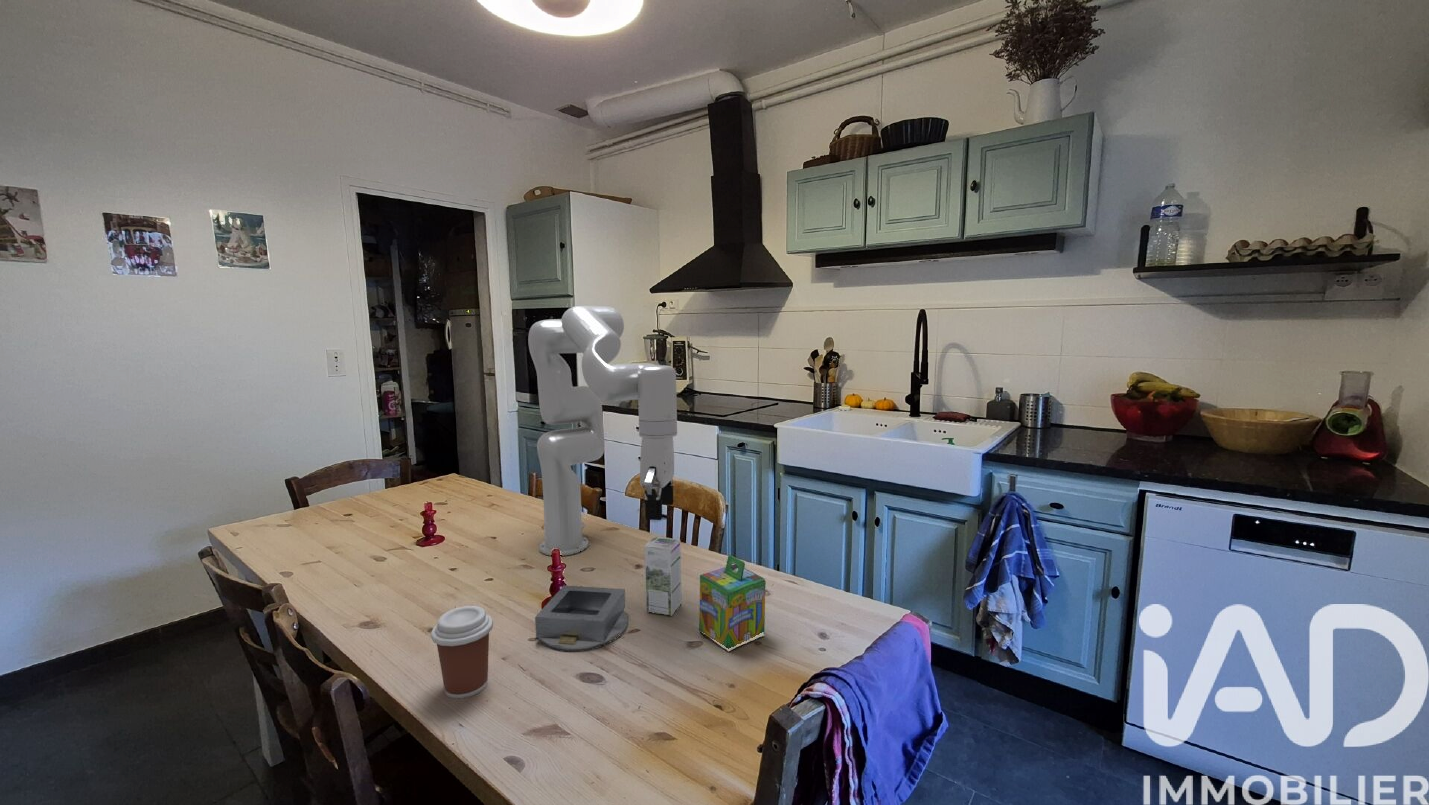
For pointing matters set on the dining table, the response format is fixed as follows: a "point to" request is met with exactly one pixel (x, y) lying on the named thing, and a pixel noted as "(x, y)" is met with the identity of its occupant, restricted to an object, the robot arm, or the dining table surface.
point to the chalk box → (732, 603)
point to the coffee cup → (463, 649)
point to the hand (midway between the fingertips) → (660, 511)
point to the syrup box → (663, 575)
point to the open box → (582, 618)
